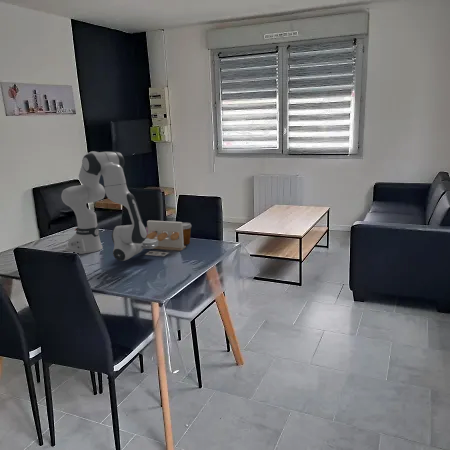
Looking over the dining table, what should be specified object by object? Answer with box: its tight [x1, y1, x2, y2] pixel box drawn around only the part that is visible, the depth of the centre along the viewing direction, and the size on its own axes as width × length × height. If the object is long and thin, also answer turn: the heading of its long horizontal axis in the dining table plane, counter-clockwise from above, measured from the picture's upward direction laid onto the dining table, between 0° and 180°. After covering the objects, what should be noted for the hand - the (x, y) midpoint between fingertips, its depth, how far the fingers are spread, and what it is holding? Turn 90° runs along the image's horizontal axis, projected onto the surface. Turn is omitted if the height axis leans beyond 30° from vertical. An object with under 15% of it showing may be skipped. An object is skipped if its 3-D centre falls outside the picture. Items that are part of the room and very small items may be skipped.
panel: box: [146, 219, 187, 252], centre depth 249 cm, size 22×7×16 cm, turn 71°
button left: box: [146, 231, 157, 239], centre depth 248 cm, size 4×6×4 cm, turn 161°
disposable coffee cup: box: [182, 222, 192, 246], centre depth 258 cm, size 10×10×12 cm
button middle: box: [157, 232, 168, 241], centre depth 246 cm, size 4×6×4 cm, turn 161°
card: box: [144, 250, 170, 257], centre depth 240 cm, size 12×6×1 cm, turn 72°
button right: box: [170, 232, 179, 240], centre depth 246 cm, size 4×6×4 cm, turn 161°
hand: (147, 238), depth 243 cm, fingers closed
